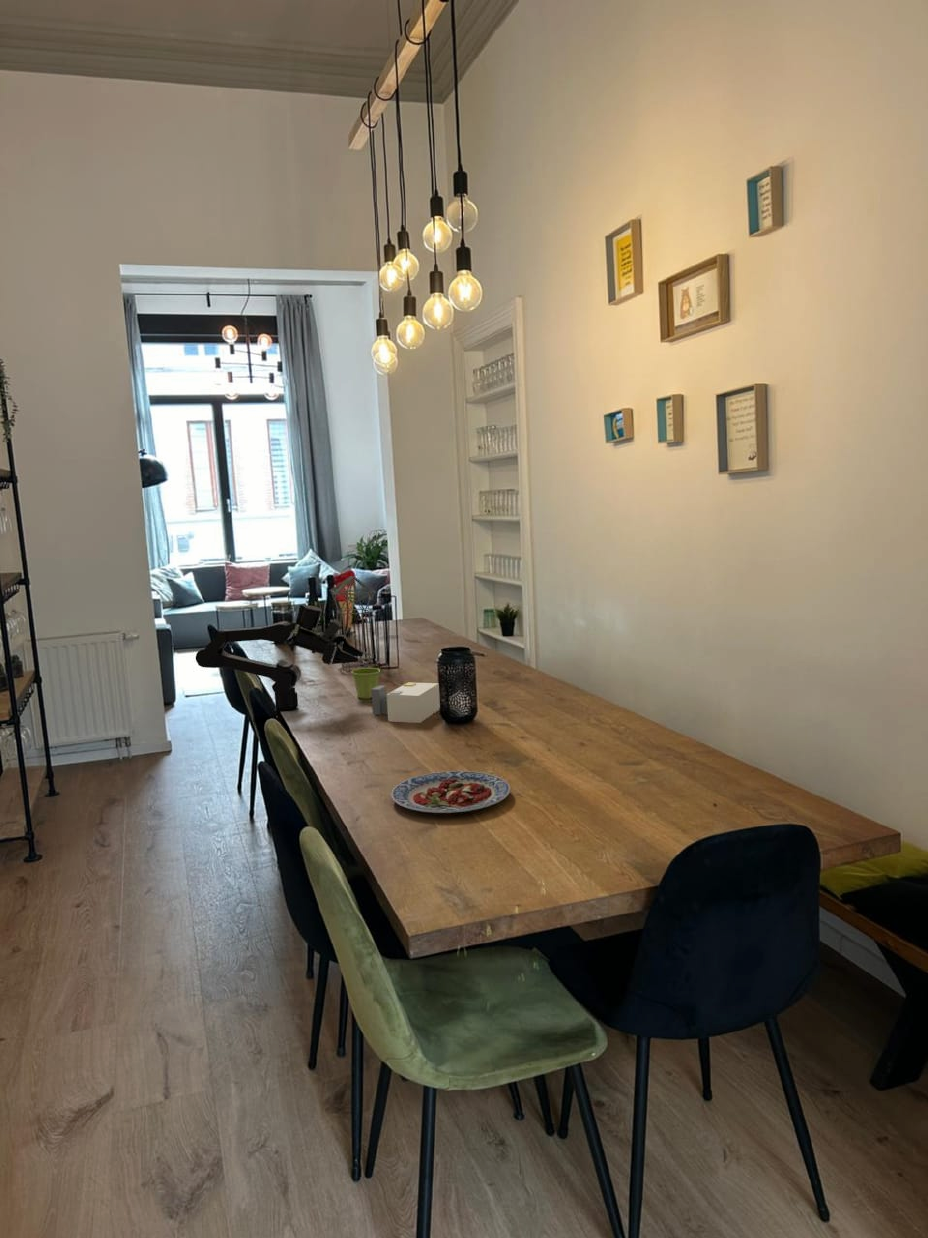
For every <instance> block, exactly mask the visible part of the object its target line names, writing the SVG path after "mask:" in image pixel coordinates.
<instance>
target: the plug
mask: <svg viewBox="0 0 928 1238" xmlns="http://www.w3.org/2000/svg"><path fill="white" fill-rule="evenodd" d="M387 694H388V693H387V685H377V687H375V688H373V689H372V697H371V703H372V705H371V706H372V715H388V710H387Z"/></svg>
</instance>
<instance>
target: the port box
mask: <svg viewBox="0 0 928 1238" xmlns="http://www.w3.org/2000/svg"><path fill="white" fill-rule="evenodd" d="M386 694H387V710H388V714H387V721H388V722H394V723H397V722H398V723H411V724H412V723H414V724H421V723H423V721H425V720H427V719H428V718H429V717H430V716H433V715H434V714H435V713H437V712H438V711H439V710H440V709H441V707H440V706H441V702H440V685H439V683H434V682H432V683H431V682H409V681H408V682H407V683H404V684H403V685H400V686H399V687H397V688H395V689H394V690H392V691H390V692H387V693H386ZM439 708H440V709H439ZM436 711H437V712H436ZM433 713H434V714H433ZM426 718H427V719H426Z"/></svg>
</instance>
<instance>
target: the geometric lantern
mask: <svg viewBox="0 0 928 1238" xmlns="http://www.w3.org/2000/svg"><path fill="white" fill-rule="evenodd" d="M355 582H356V583H357V584H358V585H359V586H361V587H362V588H357V586H356V583H355ZM345 588H347V589H346V590H344V589H345ZM352 588H353V589H352ZM365 590H366V591H367V592H366V591H365ZM328 591H329V592H330V593H331V596H332V600H333V602H334V603H335V606H336V607H335V608H336V620H337V621H339V622H340V624H342V623H343V624H342V625H343V626H342V627H343V635H345V636H346V623H345V622H346V621H345V619H346V618H345V615H361V643H362V644H361V652H363V655H365V656H364V657H363V656H360V657H357V658H358V662H359V663H351V664H350V663H341V669H343V670H344V671H345V672H352V671H353V670H356V668H355V669H351V667H357V666H358V665H363V668H369V667H368V664H369V663H370V661H372V660H373V658H375V657H374V656H375V655H374V646H373V644H374V643H373V634H372V623H371V622H372V621H371V611H369V608H370V603H371V602H370V601H373V598H374V597H375V594H377V591H376V590H375V589H374V588H372V587H371V586H369V585H368V584H366V583H364V582H363V581H362V580H360V578H357V577H356V576H349V577H347V578H346V579H344V580H343V581H341V582H339V583H338V584H337V585H335V586H334V587H332V588H331V589H329V590H328ZM358 591H360V592H358ZM364 591H365V592H364ZM351 592H352V593H351ZM337 595H340V596H341V597H343V598H344V601H343V603H342V606H341V608H340V607H339V604H338V602H337V601H338V600H337V597H338V596H337ZM361 595H364V596H363V597H361V598H360V596H361ZM352 596H353V597H352ZM366 597H368V599H367V604H366V606H365V608H364V606H363V604H362V602H361V601H362V600H364V599H365V598H366ZM356 599H357V600H356ZM347 601H349V603H348V604H347V606H346V607H345V609H344V606H345V604H346V602H347ZM351 603H353V604H354V603H357V605H358V606H359V609H358V608H356V609H355V608H354V609H348V607H349V605H351ZM350 611H351V612H350ZM352 611H361V612H352ZM345 612H349V613H345ZM367 614H368V616H367ZM364 619H365V630H366V632H365V633H366V641H367V642H366V643H367V652H365V648H364V644H365V643H364ZM342 620H343V621H342ZM368 622H369V623H368ZM368 624H369V630H368ZM339 634H342V628H341V629H339V631H338V632H337V633H336V635H335V636H338V635H339ZM369 635H370V641H369ZM369 642H370V643H369ZM370 646H371V651H370ZM365 660H367V661H365ZM358 667H359V666H358Z"/></svg>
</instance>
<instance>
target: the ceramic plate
mask: <svg viewBox="0 0 928 1238" xmlns="http://www.w3.org/2000/svg"><path fill="white" fill-rule="evenodd" d="M391 790H392V791H391V794H390V796H391V799H392V800H393V802H395V803H396V805H399V806H401V807H403V808H406V809H407V810H412V811H415V812H416V811H417V812H421V813H422V812H423V813H433V814H451V813H463V812H471V811H475V810H476V811H477V810H479V809H480V810H481V809H484V808H488V807H491V806H492V805H493V806H494V805H496V804H497V803H499V802H502V801H503V800H505V799H506V798H507V797H508V796H509V794H510V792H511V785H510V784H509V782H507V781H506V780H505V779H503V778H501V777H499V776H496V775H494V774H492V773H486V772H480V771H470V770H469V771H468V770H448V771H446V770H445V771H438V772H437V771H436V772H431V773H425V774H420V775H416V776H413V777H410V778H408V779H405V780H403V781H401V782H400V783H398V784H396V786H394V787H393V789H391Z"/></svg>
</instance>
